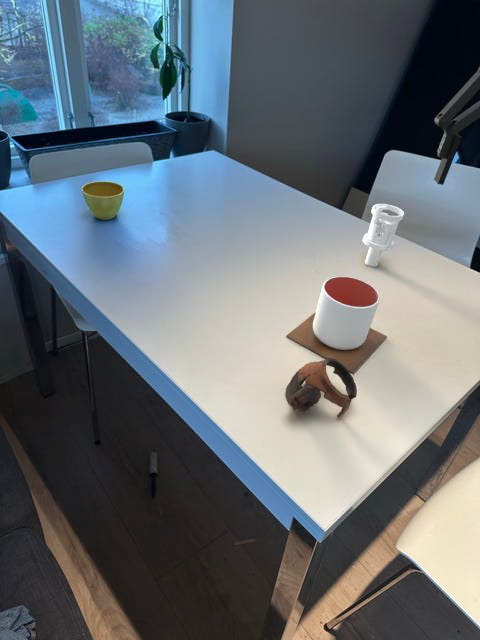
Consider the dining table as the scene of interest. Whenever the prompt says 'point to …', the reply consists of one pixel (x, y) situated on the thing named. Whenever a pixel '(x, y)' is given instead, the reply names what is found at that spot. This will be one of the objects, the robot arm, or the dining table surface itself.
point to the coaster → (347, 357)
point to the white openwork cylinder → (381, 232)
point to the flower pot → (103, 198)
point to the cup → (345, 312)
